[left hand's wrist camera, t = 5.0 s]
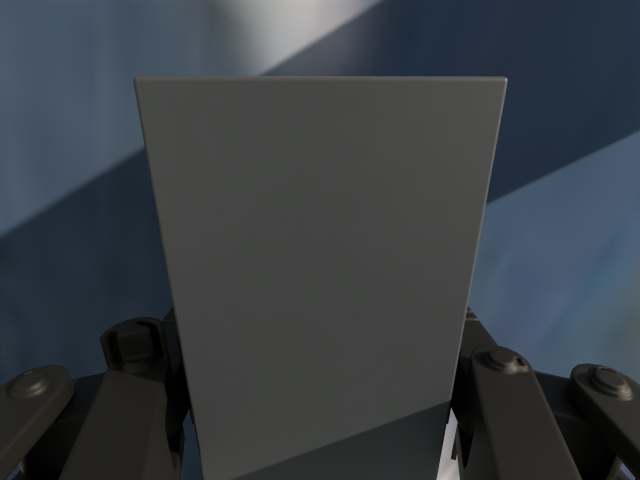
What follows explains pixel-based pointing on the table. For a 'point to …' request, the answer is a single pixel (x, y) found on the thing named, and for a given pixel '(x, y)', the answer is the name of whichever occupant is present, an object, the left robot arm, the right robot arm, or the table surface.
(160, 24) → the table surface
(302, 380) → the beam
